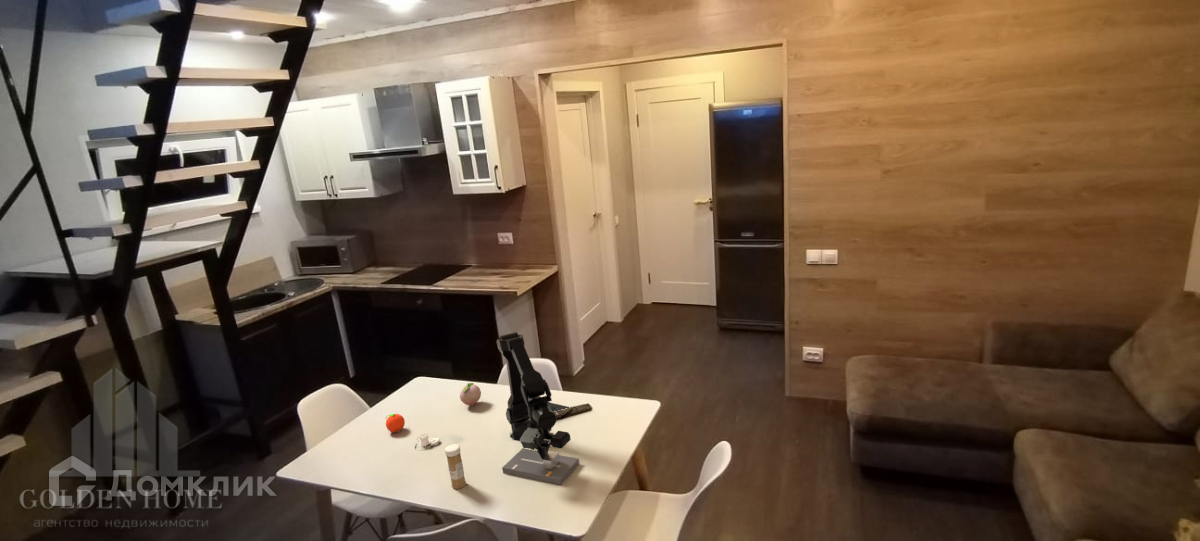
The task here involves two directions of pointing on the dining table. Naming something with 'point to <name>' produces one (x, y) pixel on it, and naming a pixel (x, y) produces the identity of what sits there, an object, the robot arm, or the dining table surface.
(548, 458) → the fader tab
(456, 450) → the sprinkles bottle
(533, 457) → the board
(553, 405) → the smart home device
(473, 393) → the decorative fruit
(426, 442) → the white charger with cable
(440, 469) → the dining table surface
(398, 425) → the clementine
